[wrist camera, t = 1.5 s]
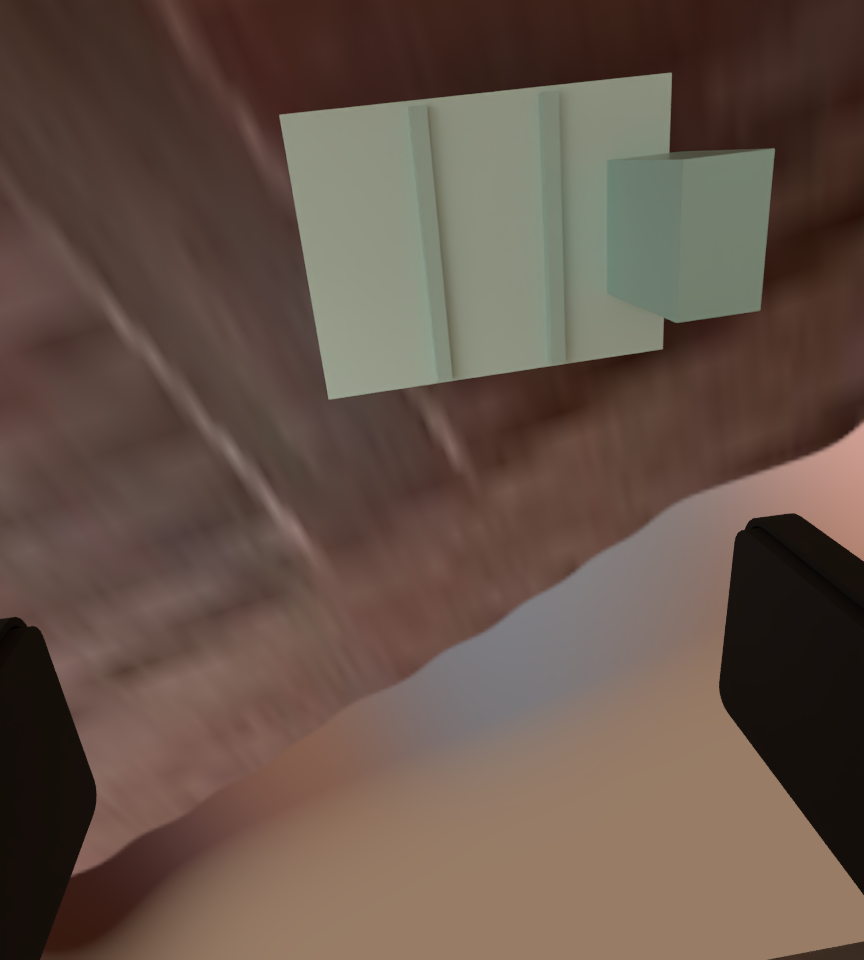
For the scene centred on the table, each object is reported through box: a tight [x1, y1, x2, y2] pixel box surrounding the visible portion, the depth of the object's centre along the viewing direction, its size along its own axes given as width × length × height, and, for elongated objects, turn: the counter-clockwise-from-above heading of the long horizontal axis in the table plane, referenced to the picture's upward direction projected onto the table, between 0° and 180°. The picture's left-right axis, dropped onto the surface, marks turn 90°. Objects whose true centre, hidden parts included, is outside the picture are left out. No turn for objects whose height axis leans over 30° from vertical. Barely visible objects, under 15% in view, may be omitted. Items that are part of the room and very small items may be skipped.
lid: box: [279, 73, 775, 399], centre depth 26 cm, size 10×15×8 cm
